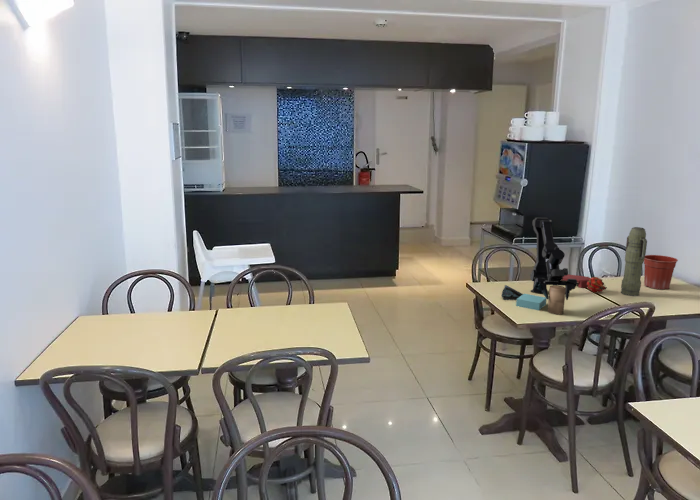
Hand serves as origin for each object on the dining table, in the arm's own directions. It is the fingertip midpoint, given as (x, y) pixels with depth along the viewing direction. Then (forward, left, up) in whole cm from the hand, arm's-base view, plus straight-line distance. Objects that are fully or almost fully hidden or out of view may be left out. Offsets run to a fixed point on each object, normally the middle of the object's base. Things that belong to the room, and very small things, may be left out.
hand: (557, 299), depth 252 cm
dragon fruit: (-48, +6, -7) cm, 49 cm away
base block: (-4, -13, -7) cm, 16 cm away
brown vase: (-1, -1, -7) cm, 7 cm away
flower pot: (-80, +30, -7) cm, 86 cm away
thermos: (-56, +21, -7) cm, 60 cm away
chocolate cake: (-10, -25, -7) cm, 28 cm away
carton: (-60, -11, -7) cm, 62 cm away
